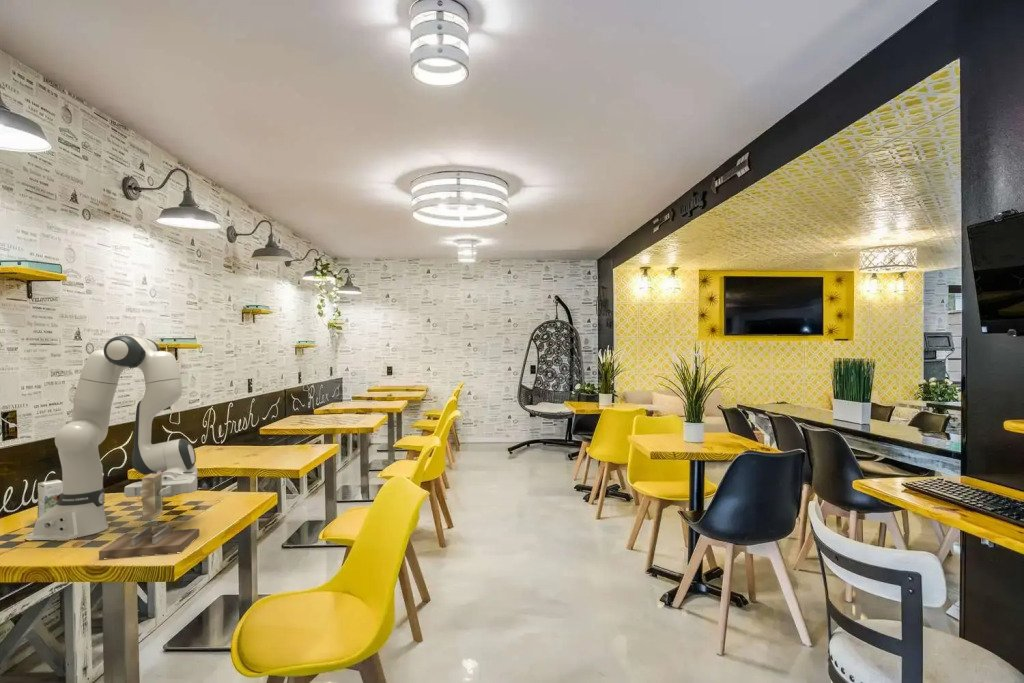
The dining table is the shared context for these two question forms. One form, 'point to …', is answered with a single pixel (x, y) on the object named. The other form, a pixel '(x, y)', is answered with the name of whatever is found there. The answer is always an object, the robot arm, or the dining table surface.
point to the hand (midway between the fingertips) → (151, 493)
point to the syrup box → (48, 495)
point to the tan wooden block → (151, 496)
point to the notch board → (150, 543)
